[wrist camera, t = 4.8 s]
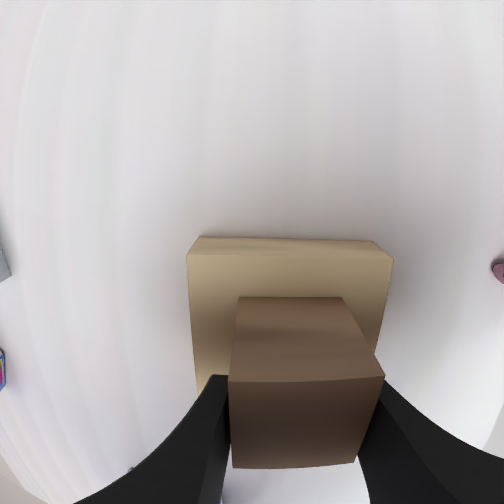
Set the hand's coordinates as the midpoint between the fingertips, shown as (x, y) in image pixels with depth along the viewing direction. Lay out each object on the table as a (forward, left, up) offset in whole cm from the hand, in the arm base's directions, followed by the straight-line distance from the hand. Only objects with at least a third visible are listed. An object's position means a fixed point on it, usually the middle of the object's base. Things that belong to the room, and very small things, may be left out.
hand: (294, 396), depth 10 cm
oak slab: (0, 0, -6) cm, 6 cm away
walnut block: (0, 0, -3) cm, 3 cm away
